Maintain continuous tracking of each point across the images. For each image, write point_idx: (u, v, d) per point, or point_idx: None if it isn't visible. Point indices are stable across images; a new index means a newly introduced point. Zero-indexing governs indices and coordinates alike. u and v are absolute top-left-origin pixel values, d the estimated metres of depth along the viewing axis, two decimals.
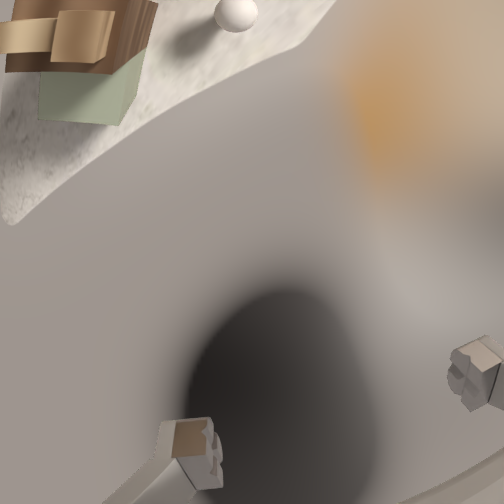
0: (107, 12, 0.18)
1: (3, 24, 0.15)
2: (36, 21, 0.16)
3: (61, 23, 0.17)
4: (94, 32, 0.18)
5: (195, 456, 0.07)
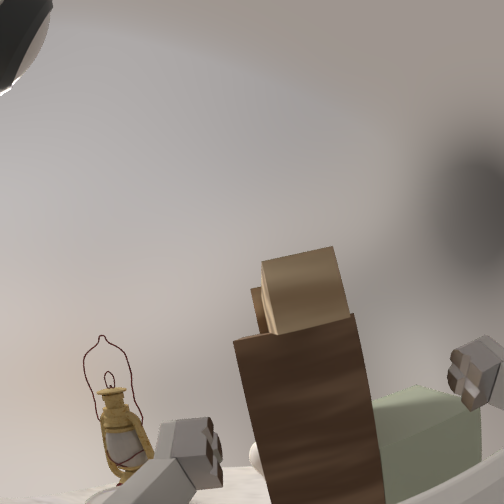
0: None
1: None
2: None
3: None
4: None
5: (195, 456, 0.07)
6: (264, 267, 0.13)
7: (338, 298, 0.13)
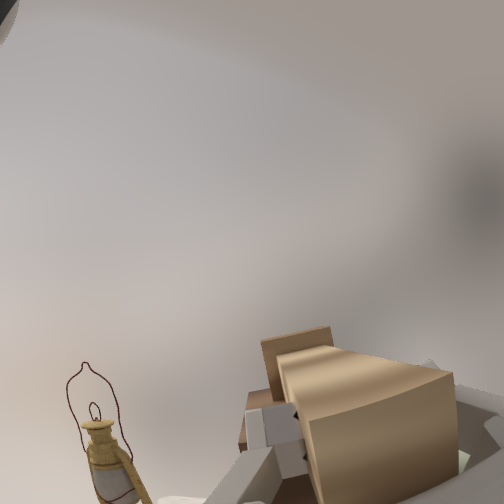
0: None
1: (284, 365, 0.14)
2: (279, 358, 0.17)
3: None
4: None
5: (293, 441, 0.07)
6: (314, 432, 0.05)
7: (447, 466, 0.05)
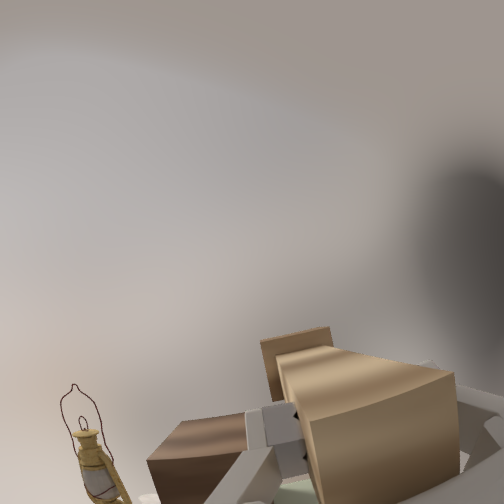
0: None
1: (283, 365, 0.14)
2: (279, 358, 0.17)
3: (277, 338, 0.20)
4: None
5: (293, 441, 0.07)
6: (315, 433, 0.05)
7: (448, 466, 0.05)
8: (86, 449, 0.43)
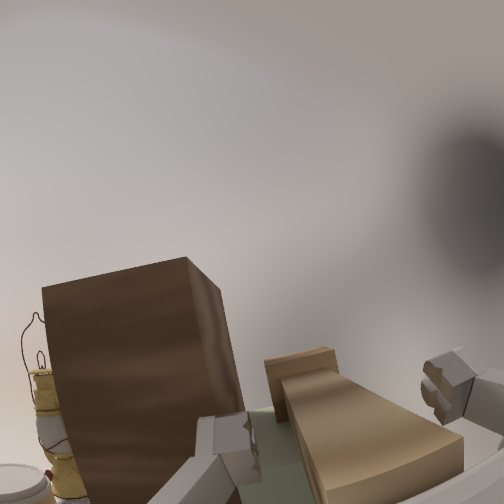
0: None
1: (290, 397, 0.13)
2: (284, 384, 0.17)
3: (281, 361, 0.20)
4: (288, 354, 0.23)
5: (239, 451, 0.07)
6: (330, 499, 0.05)
7: None
8: (41, 390, 0.37)
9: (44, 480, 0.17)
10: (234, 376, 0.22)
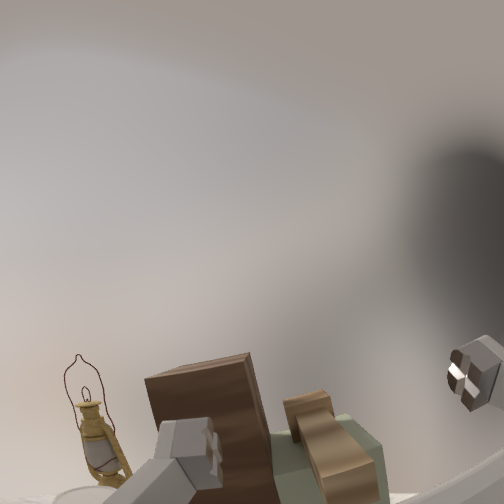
0: None
1: (304, 432, 0.22)
2: (299, 421, 0.26)
3: (295, 404, 0.29)
4: (299, 396, 0.32)
5: (195, 456, 0.07)
6: (323, 481, 0.14)
7: (373, 491, 0.13)
8: (88, 419, 0.46)
9: None
10: (263, 412, 0.31)
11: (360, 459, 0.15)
